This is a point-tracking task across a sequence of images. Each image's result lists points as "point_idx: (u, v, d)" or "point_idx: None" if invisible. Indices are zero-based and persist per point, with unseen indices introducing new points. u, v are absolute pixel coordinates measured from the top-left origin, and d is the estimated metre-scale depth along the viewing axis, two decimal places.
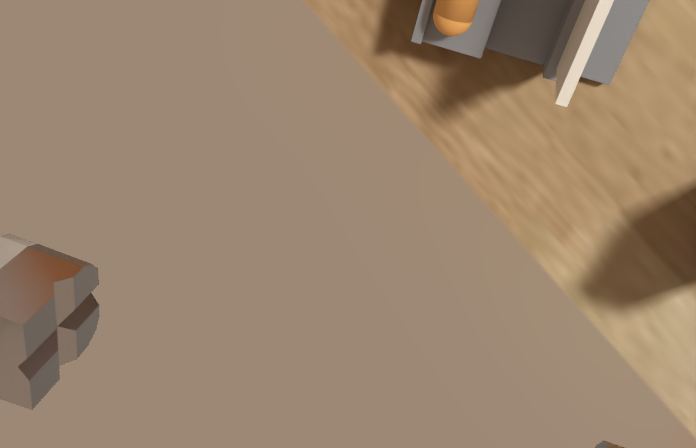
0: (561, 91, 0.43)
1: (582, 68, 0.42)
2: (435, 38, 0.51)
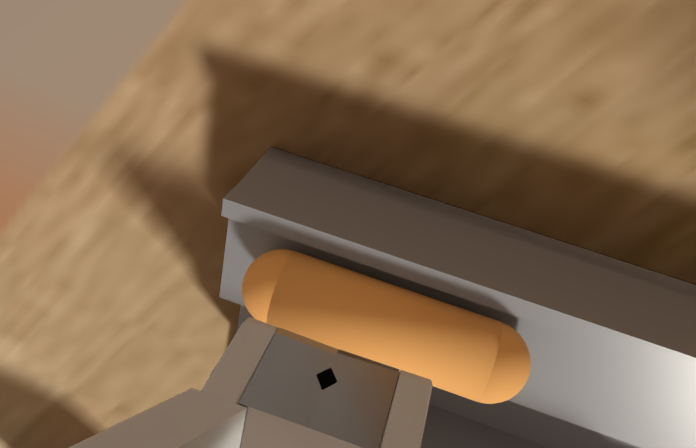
0: None
1: None
2: (239, 229, 0.25)
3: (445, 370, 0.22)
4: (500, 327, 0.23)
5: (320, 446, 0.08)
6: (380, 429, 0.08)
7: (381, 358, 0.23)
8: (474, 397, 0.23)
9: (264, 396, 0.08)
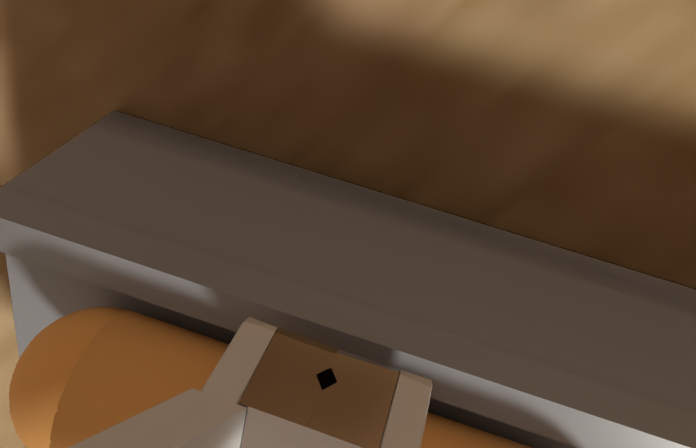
0: None
1: None
2: (28, 265, 0.13)
3: None
4: None
5: (320, 446, 0.08)
6: (380, 429, 0.08)
7: None
8: None
9: (264, 395, 0.08)
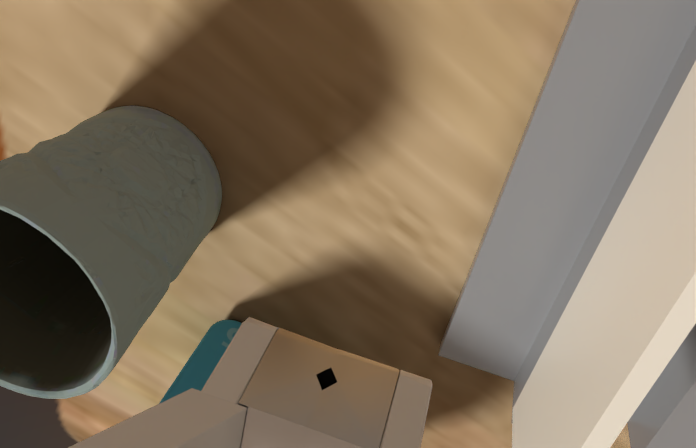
0: None
1: None
2: None
3: None
4: None
5: (320, 446, 0.08)
6: (380, 429, 0.08)
7: None
8: None
9: (264, 396, 0.08)
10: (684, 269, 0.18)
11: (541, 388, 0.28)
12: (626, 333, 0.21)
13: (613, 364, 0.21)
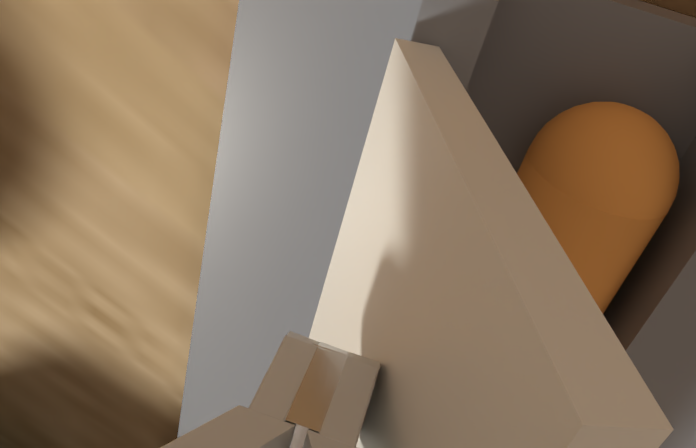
0: None
1: None
2: None
3: None
4: None
5: None
6: (322, 409, 0.08)
7: None
8: None
9: (312, 412, 0.08)
10: None
11: None
12: None
13: None
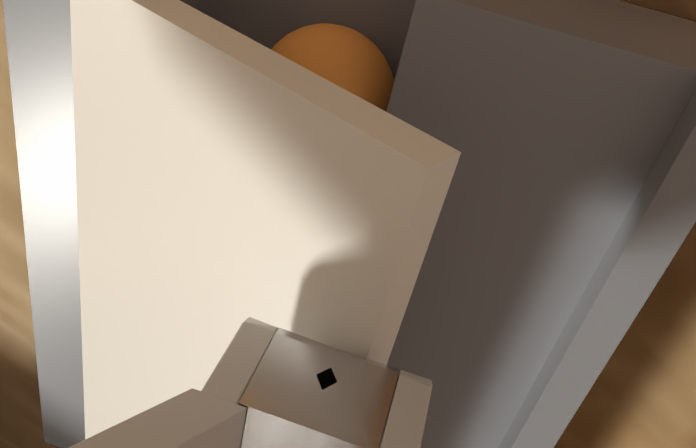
0: (438, 209, 0.09)
1: (380, 325, 0.10)
2: (632, 86, 0.11)
3: None
4: None
5: (320, 446, 0.08)
6: (380, 429, 0.08)
7: None
8: None
9: (264, 396, 0.08)
10: None
11: None
12: None
13: None
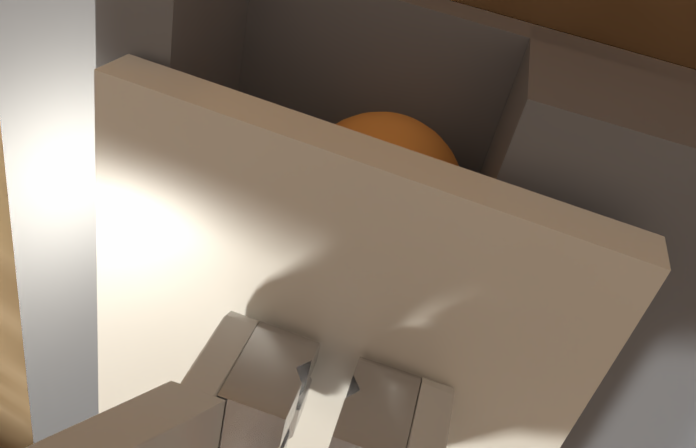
0: None
1: (577, 415, 0.09)
2: None
3: None
4: None
5: None
6: (404, 438, 0.08)
7: None
8: None
9: (243, 387, 0.08)
10: None
11: None
12: None
13: None
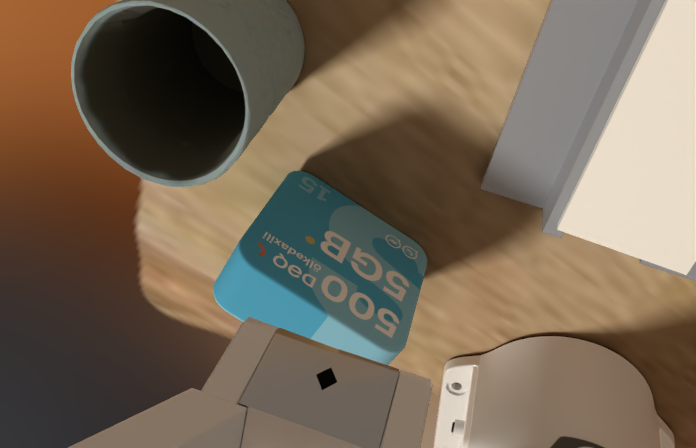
0: None
1: None
2: None
3: None
4: None
5: (320, 446, 0.08)
6: (380, 429, 0.08)
7: None
8: None
9: (264, 395, 0.08)
10: None
11: (617, 189, 0.37)
12: None
13: None
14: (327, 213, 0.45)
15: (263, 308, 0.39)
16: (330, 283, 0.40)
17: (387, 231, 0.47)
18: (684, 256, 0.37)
